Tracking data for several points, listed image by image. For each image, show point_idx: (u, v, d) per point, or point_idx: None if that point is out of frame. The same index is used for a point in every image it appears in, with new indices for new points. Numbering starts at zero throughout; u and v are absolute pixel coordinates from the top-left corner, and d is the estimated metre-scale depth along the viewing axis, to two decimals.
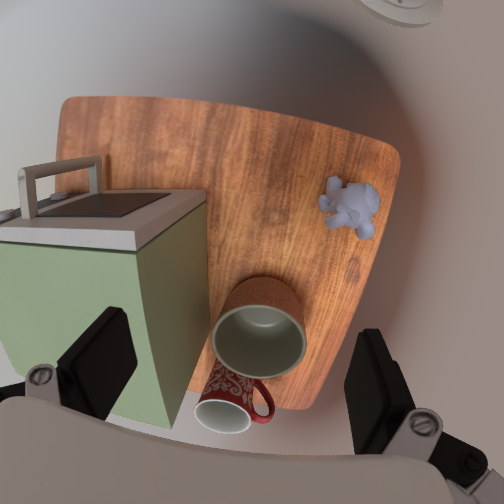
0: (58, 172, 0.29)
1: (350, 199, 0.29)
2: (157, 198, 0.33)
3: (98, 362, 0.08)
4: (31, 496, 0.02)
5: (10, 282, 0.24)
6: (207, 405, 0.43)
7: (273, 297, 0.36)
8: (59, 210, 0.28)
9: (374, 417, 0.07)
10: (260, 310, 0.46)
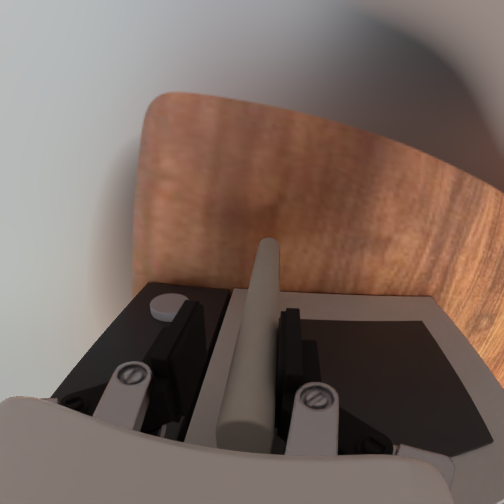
0: None
1: None
2: (442, 351, 0.16)
3: (186, 355, 0.09)
4: (31, 496, 0.02)
5: None
6: None
7: None
8: None
9: (276, 387, 0.08)
10: None
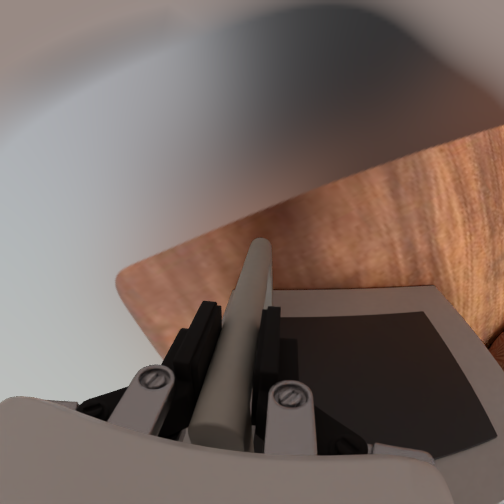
0: None
1: None
2: (444, 342, 0.16)
3: (207, 357, 0.09)
4: (31, 496, 0.02)
5: None
6: None
7: None
8: None
9: None
10: None
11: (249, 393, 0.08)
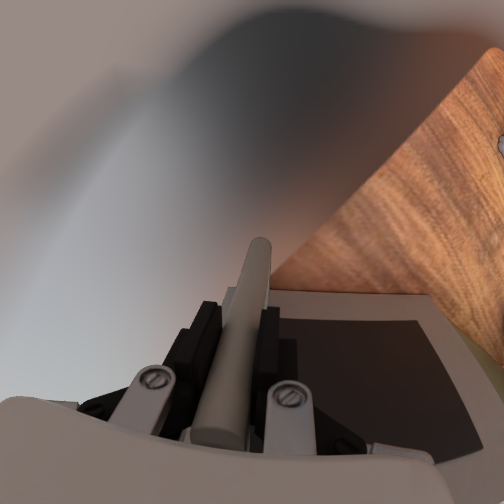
0: None
1: None
2: (436, 353, 0.16)
3: (208, 357, 0.09)
4: (31, 496, 0.02)
5: None
6: None
7: None
8: None
9: (252, 384, 0.08)
10: None
11: (250, 397, 0.08)
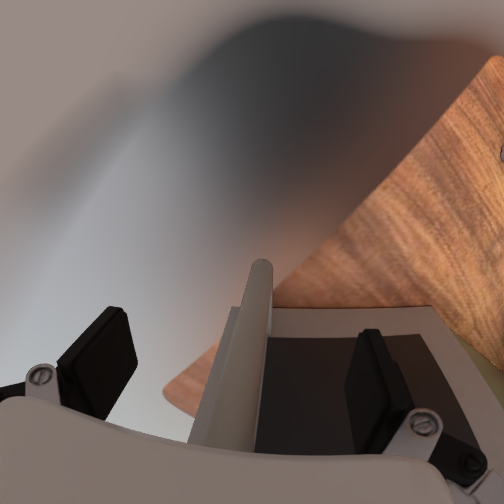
0: None
1: None
2: (439, 367, 0.16)
3: (98, 362, 0.08)
4: (31, 496, 0.02)
5: None
6: None
7: None
8: None
9: (374, 417, 0.07)
10: None
11: (253, 428, 0.08)
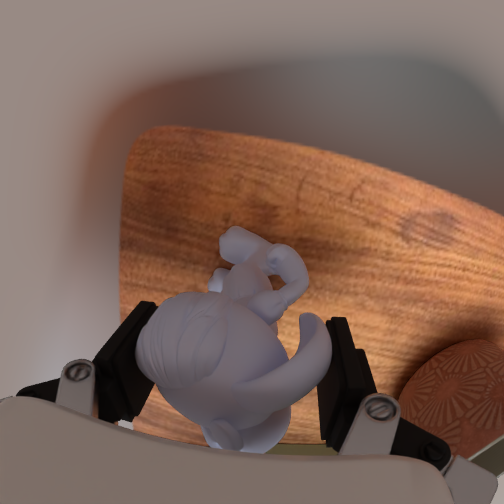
0: None
1: None
2: None
3: None
4: (31, 496, 0.02)
5: None
6: None
7: None
8: None
9: (334, 400, 0.08)
10: None
11: None
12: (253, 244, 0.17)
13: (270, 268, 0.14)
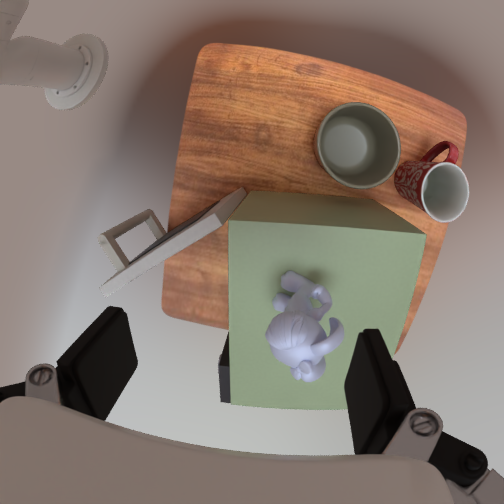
0: (127, 229, 0.42)
1: (286, 363, 0.23)
2: (213, 205, 0.43)
3: (98, 362, 0.08)
4: (31, 496, 0.02)
5: (265, 364, 0.36)
6: (441, 209, 0.38)
7: (317, 131, 0.38)
8: (145, 251, 0.39)
9: (374, 417, 0.07)
10: (350, 149, 0.46)
11: (111, 232, 0.37)
12: (300, 281, 0.31)
13: (313, 296, 0.28)
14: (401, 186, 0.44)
